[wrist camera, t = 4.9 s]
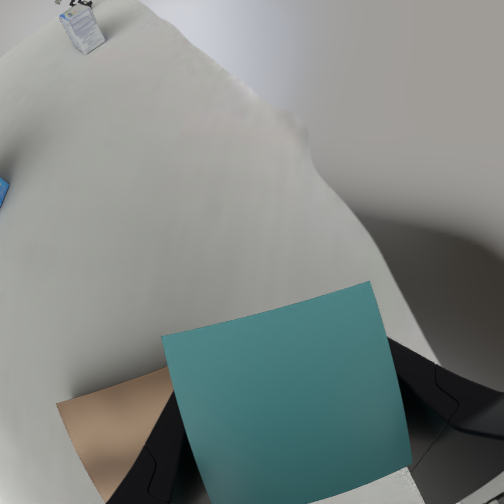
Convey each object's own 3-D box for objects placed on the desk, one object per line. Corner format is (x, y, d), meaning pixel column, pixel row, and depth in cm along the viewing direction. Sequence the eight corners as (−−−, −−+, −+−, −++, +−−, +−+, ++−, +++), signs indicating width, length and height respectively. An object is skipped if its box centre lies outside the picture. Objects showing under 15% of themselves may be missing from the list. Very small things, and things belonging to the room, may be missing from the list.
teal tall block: (331, 401, 15) (412, 463, 5) (244, 425, 14) (218, 519, 5) (308, 318, 16) (369, 280, 7) (221, 342, 16) (160, 336, 6)
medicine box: (106, 41, 36) (91, 5, 28) (85, 56, 35) (67, 20, 27) (93, 34, 38) (78, 2, 30) (73, 47, 37) (57, 16, 29)
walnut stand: (261, 504, 17) (260, 519, 15) (141, 527, 16) (131, 539, 14) (185, 361, 21) (175, 362, 19) (72, 400, 20) (55, 403, 18)
